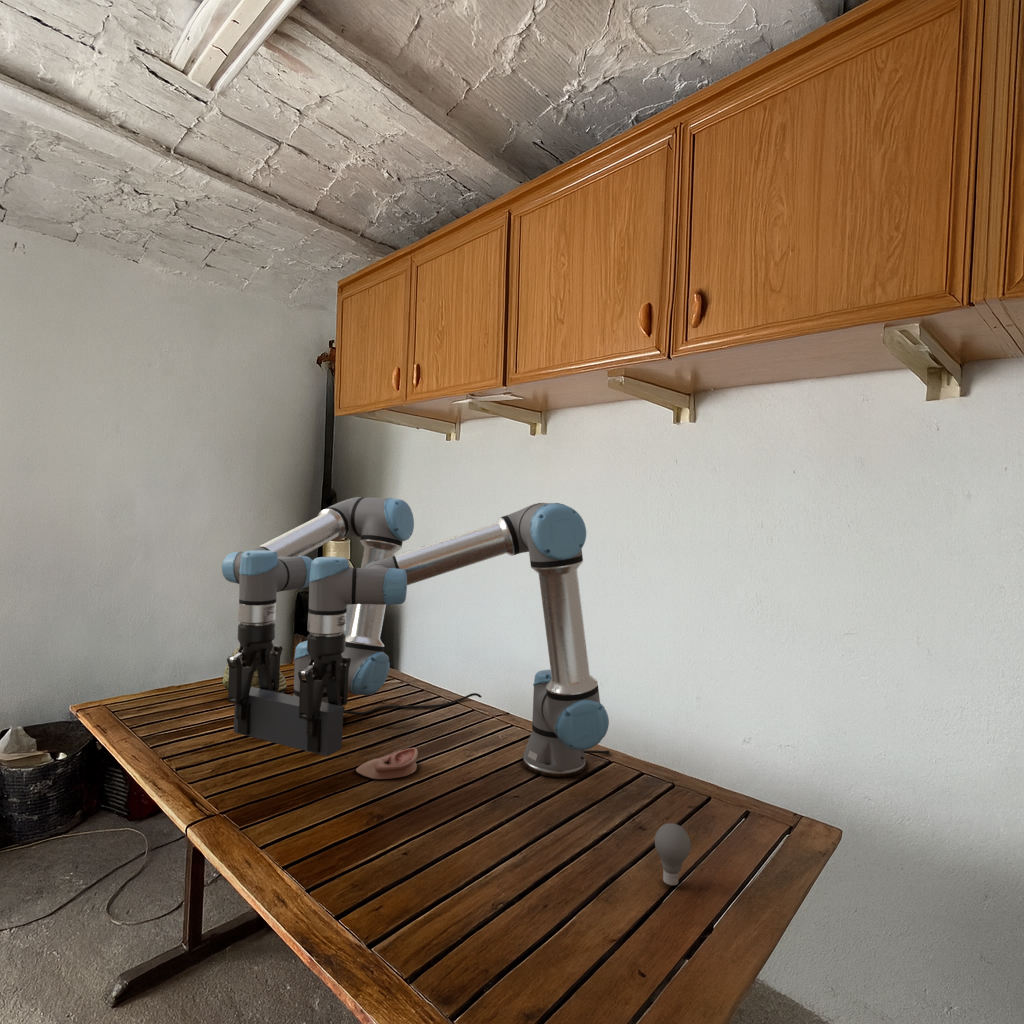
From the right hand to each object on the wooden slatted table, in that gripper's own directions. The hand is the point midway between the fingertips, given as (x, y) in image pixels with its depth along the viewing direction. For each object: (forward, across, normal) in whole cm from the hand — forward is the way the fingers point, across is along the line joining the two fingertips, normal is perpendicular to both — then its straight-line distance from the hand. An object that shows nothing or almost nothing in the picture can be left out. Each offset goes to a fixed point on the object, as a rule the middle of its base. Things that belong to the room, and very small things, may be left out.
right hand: (322, 746), depth 130 cm
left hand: (0, 0, +19) cm, 19 cm away
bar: (+1, 0, +10) cm, 10 cm away
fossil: (+12, +46, +65) cm, 81 cm away
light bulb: (+12, +7, -70) cm, 71 cm away
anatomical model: (+12, +21, -2) cm, 24 cm away
